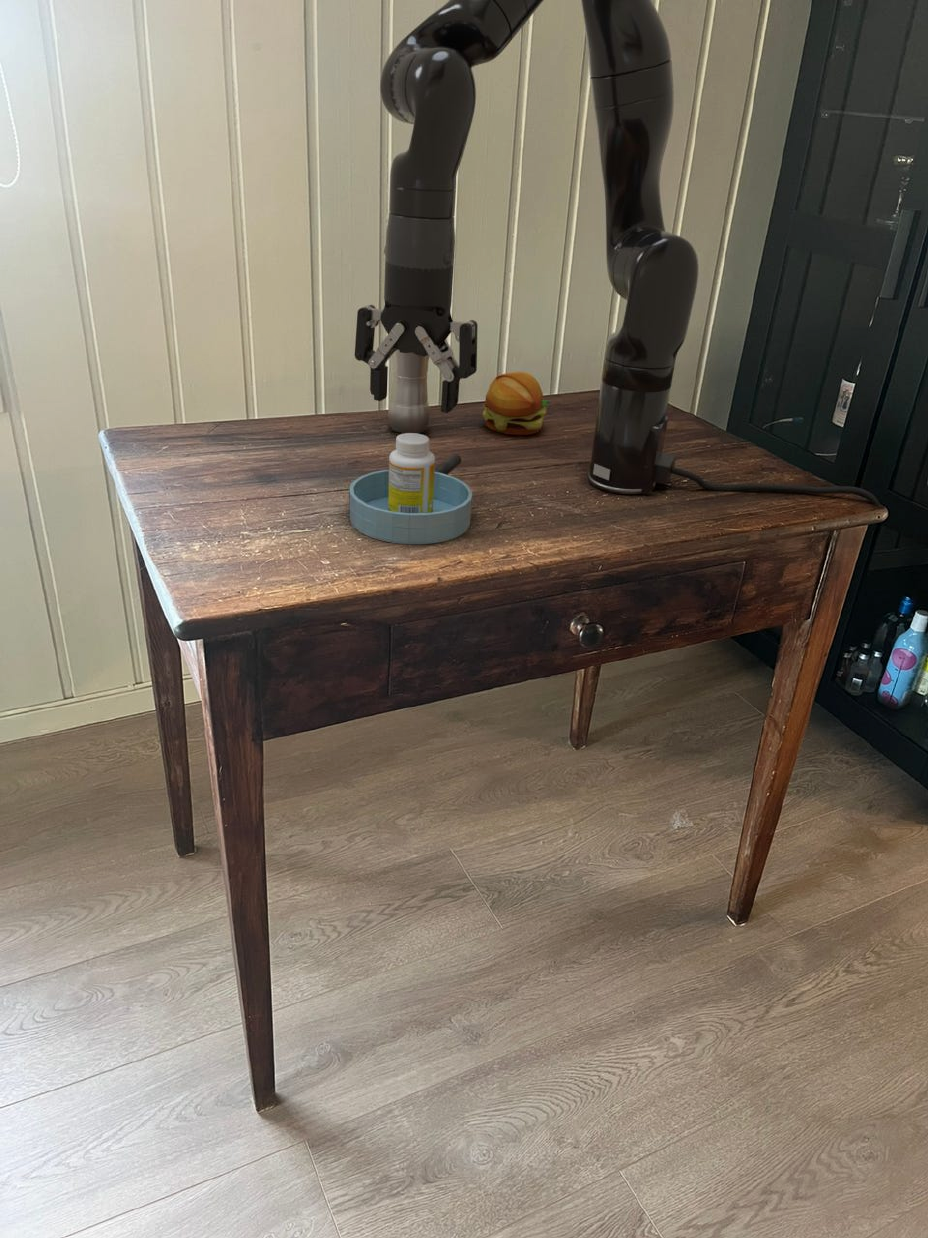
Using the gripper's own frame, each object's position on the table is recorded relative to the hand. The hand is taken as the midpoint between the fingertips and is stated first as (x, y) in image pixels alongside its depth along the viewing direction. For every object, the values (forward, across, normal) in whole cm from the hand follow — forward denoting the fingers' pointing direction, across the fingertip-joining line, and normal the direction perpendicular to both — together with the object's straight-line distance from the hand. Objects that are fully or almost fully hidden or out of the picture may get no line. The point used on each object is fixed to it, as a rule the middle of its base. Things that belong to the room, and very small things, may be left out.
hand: (413, 405), depth 111 cm
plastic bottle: (+15, +14, -31) cm, 37 cm away
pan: (+14, 0, 0) cm, 14 cm away
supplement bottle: (+14, 0, 0) cm, 14 cm away
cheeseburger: (+14, 0, -41) cm, 44 cm away
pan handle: (+12, 0, -12) cm, 17 cm away
